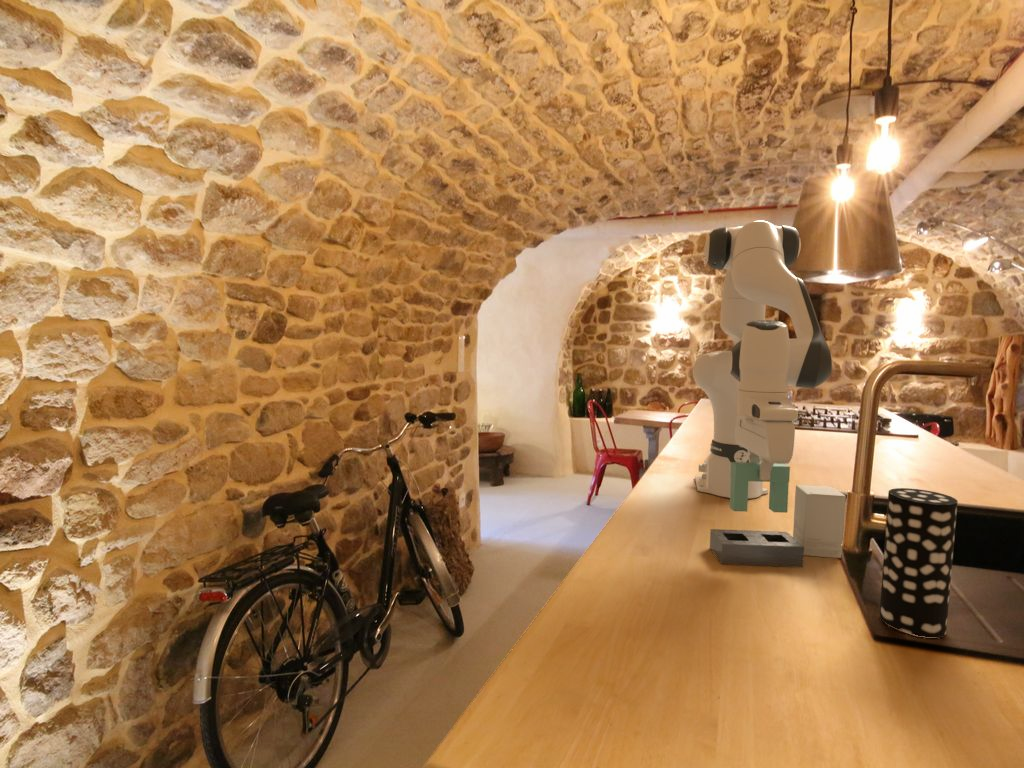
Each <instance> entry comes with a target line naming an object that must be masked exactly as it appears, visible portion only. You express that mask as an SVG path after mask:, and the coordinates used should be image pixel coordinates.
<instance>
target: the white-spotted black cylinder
mask: <svg viewBox="0 0 1024 768" xmlns="http://www.w3.org/2000/svg"><path fill="white" fill-rule="evenodd" d="M957 512H958V499H956V498H954V497H953V496H950V495H947V494H944V493H940V492H936V491H932V490H928V489H927V490H926V489H919V488H908V487H907V488H905V487H903V488H902V487H898V488H891V489H889V490H888V493H887V506H886V523H885V534H884V535H885V536H884V548H883V549H884V550H883V551H884V552H883V561H882V562H883V563H882V573H881V589H880V599H879V600H880V603H879V615H880V617H879V619H880V618H881V619H882V620H883V621H884V622H886V623H887V624H889V625H891V626H893V627H895V628H897V629H900V630H903V631H906V632H908V633H911V634H915V635H918V636H925V637H942V636H944V635H945V634H946V635H947V627H948V616H949V605H950V604H949V603H950V593H951V583H952V570H953V561H954V547H955V535H956V524H957V515H958V514H957ZM881 619H880V620H881ZM946 635H945V636H946ZM945 636H944V637H945ZM942 638H943V637H942Z"/></svg>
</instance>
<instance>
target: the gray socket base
mask: <svg viewBox="0 0 1024 768" xmlns="http://www.w3.org/2000/svg"><path fill="white" fill-rule="evenodd" d="M709 531H710V532H709V533H710V534H709V535H710V536H709V549H710V548H711V549H710V551H711V550H712V551H713V552H712V551H711V552H712V554H715V555H716V556H715V555H714V556H715V558H716V559H717V558H718V559H719V560H718V559H717V560H718V562H719V561H720V562H721V563H720V562H719V563H720V565H728V564H734V566H735V564H736V566H755V567H756V566H761V567H780V568H781V567H783V568H803V567H804V556H805V555H804V546H803V545H801V544H800V543H799V542H798V541H797V540H796V539H794V538H793V535H791V534H790V533H789V532H787V531H779V530H778V531H773V530H751V529H750V530H746V529H719V528H718V529H717V528H716V529H715V528H711V529H710V530H709Z"/></svg>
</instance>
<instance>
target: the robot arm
mask: <svg viewBox="0 0 1024 768" xmlns="http://www.w3.org/2000/svg"><path fill="white" fill-rule="evenodd" d="M799 233H800V232H799V231H798V229H796V227H794V226H789V225H783V224H781V225H780V226H778V225H774V224H773V223H771V222H769V221H765V220H755V221H754V220H753V221H750V222H748V223H746V224H744V225H742V226H741V225H740V226H733V227H726V226H723V227H718V228H714V229H713V230H712V231H711V232H709V234H708V237H707V238H706V241H705V243H704V247H703V250H704V251H703V252H704V257H705V260H706V264H707V266H709V267H710V268H711V269H714V270H718V271H723V270H726V272H725V274H724V280H723V285H722V292H721V303H720V304H721V305H720V315H719V318H720V320H719V326H720V329H721V330H722V332H723V333H725V334H726V335H727V336H729V337H730V338H731V340H732V343H733V347H731V348H730V350H714V351H711V352H707V353H703V354H701V355H699V356H698V357H697V358H696V360H695V361H694V364H693V367H692V377H693V380H694V382H695V384H696V385H697V386H698V387H699V389H701V390H702V391H703V392H704V393H705V394H706V397H708V400H709V401H710V404H711V407H712V411H713V412H712V413H713V439H711V443H710V450H709V451H710V453H709V454H708V456H707V457H706V459H704V461H703V463H698V472H699V473H701V474H696V475H695V476H694V480H695V485H696V490H697V491H698V492H701V493H706V494H712V495H714V496H718V497H721V498H722V497H723V498H729V499H730V486H731V477H730V475H731V462H750V463H761V464H760V469H758V478H760V479H761V480H769V479H770V471H771V469H772V467H773V465H774V463H776V464H786V465H788V464H790V463H791V461H792V460H793V456H794V455H793V454H794V448H795V437H796V436H795V435H796V429H795V424H794V422H797V421H798V420H799V411H798V408H797V407H795V405H794V404H793V403H792V401H791V399H790V397H789V395H790V394H789V391H790V390H789V389H790V388H789V387H795V388H802V389H816V388H817V387H819V386H821V385H822V384H823V383H825V382H826V381H827V380H828V379H829V378H830V377H831V375H832V371H833V356H832V353H831V349H830V347H829V345H828V343H827V341H826V339H825V337H824V335H823V332H822V329H821V327H820V323H819V321H818V317H817V314H816V312H815V308H814V305H813V303H812V300H811V296H810V294H809V291H808V288H807V286H806V284H805V282H804V280H803V279H802V278H801V277H798V276H795V275H794V274H793V273H792V272H791V271H790V270H789V268H791V266H793V265H794V264H795V263H796V262H797V259H798V258H799V255H800V254H801V253H800V252H801V248H802V243H801V240H802V239H801V237H800V234H799ZM767 306H769V307H771V308H776V309H777V310H778V309H779V311H780V310H781V311H782V312H784V313H786V314H787V315H788V316H789V317H790V319H791V322H792V326H793V329H794V334H795V337H796V338H790V333H789V327H788V325H787V324H786V323H785V322H782V321H780V320H779V321H778V320H770V319H767V320H766V310H767V309H766V308H767ZM768 490H769V489H768V488H766V487H764V482H759V481H748V499H756V498H759V497H761V496H762V495H765V494H766V495H767V494H769V491H768Z"/></svg>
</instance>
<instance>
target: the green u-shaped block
mask: <svg viewBox="0 0 1024 768" xmlns="http://www.w3.org/2000/svg"><path fill="white" fill-rule="evenodd" d="M760 464H761V463H750V462H731V475H730V477H731V486H730V498H729V508H730V509H731V511H733V512H743V513H744V512H746V513H747V512H748V503H749V501H748V481H759V482H763V483H764V482H765V483H766V482H769V492H768V494H769V497H768V499H769V500H768V509H769V510H770V511H771V512H773V513H787V514H788V508H789V507H788V506H789V502H788V501H789V483H790V472H791V466H790V465H788V464H776V463H774V465H773V467H772V469H771V471H770V479H769V480H761V479H760V478H758V469H760Z"/></svg>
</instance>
